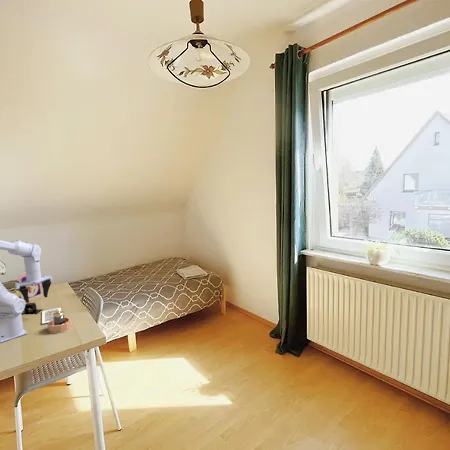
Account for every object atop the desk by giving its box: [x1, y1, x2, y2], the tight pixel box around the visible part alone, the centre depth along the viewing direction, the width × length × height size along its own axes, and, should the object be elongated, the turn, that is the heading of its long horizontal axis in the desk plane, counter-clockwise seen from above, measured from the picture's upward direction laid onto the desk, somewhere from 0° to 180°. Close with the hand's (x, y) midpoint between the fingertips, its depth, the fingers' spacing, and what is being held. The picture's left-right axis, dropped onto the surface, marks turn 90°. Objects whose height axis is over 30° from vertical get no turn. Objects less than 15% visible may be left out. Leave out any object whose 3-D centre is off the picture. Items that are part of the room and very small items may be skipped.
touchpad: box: [41, 307, 62, 325], centre depth 146 cm, size 8×15×2 cm, turn 30°
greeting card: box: [18, 271, 44, 302], centre depth 168 cm, size 11×7×15 cm, turn 155°
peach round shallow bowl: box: [47, 316, 73, 334], centre depth 135 cm, size 9×9×3 cm
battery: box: [53, 310, 65, 325], centre depth 134 cm, size 4×4×7 cm
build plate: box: [21, 302, 44, 316], centre depth 152 cm, size 12×7×5 cm, turn 91°
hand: (36, 299), depth 143 cm, fingers open, 7 cm apart
